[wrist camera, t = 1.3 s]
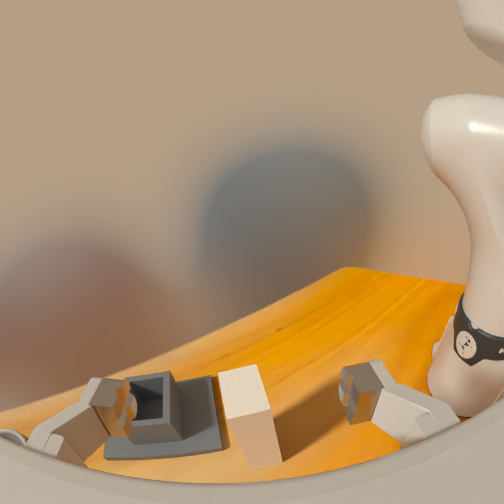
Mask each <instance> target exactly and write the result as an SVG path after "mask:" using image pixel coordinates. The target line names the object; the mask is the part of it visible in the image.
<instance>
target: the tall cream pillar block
mask: <svg viewBox="0 0 504 504" xmlns="http://www.w3.org/2000/svg"><path fill="white" fill-rule="evenodd" d="M218 375H219V381H220V387H221V393H222V398H223V404H224V409H225V414H226V420H227V422H228V424H229V426H230V428H231V430H232V432H233V434H234V436H235V438H236V440H237V442H238V444H239V446H240V448H241V450H242V452H243V454H244V456H245V458H246V460H247V462H248V464H249V466H250V468H251V470H255V469H259V468H264V467H268V466H272V465H275V464H279V463H283V461H282V457H281V453H280V448H279V444H278V439H277V435H276V431H275V426H274V422H273V417H272V413H271V408H270V405H269V402H268V399H267V396H266V393H265V390H264V387H263V384H262V381H261V378H260V375H259V372H258V368H257V365H256V364H254V365H250V366H246V367H242V368H238V369H233V370H229V371H225V372H220V373H218Z"/></svg>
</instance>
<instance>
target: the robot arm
mask: <svg viewBox="0 0 504 504" xmlns="http://www.w3.org/2000/svg"><path fill="white" fill-rule="evenodd" d="M455 3H456V6H457V9H458V12H459V15H460V18H461V21H462V24H463V28H464V30H465V32H466V34H467V36H468V37H469V39H470V40H471V41H472V43H473V44H474V45H475V46H476V47H477V48H478V49H479V50H481V51H482V52H483V53H485V54H486V55H488V56H489V57H491V58H492V59H494V60H495V61H497V62H498V63H500V64H502V65H504V0H455ZM421 143H422V148H423V152H424V155H425V158H426V160H427V162H428V164H429V166H430V168H431V169H432V171H433V172H434V174H435V175H436V176H437V177H438V178H439V179H440V180H441V181H442V182H443V183H444V184H445V185H446V186H447V187H448V189H449V190H450V191H451V192H452V193H453V195H454V197H455V198H456V200H457V201H458V203H459V205H460V207H461V209H462V211H463V213H464V216H465V218H466V221H467V224H468V228H469V232H470V239H471V256H470V266H469V273H468V278H467V284H466V288H465V292H464V293H463V294H462V295H461V298H460V300H459V303H458V305H457V308H456V311H455V316H452V317H451V318H450V319H449V322H448V324H447V326H446V329H445V331H444V334H443V336H442V338H441V341H438V342H436V343H435V344H434V346H433V348H432V357H433V360H432V363H431V366H430V368H429V371H428V378H427V379H428V387H429V390H430V392H431V394H432V396H433V397H431V396H429V395H426V394H424V393H422V392H419V391H417V390H415V389H412V388H410V387H408V386H406V385H403V384H401V383H399V384H397V383H396V381H395V380H394V379H393V377H392V376H391V374H390V373H389V371H388V370H387V369H386V367H385V366H384V364H383V363H382V361H381V360H379V359H376V360H372V361H368V362H364V363H360V364H355V365H350V366H345V367H343V368H342V370H341V376H342V380H341V382H340V383H339V388H338V392H339V399H340V402H341V404H342V405H343V406H344V407H346V412H345V414H346V416H347V418H348V421H349V423H350V425H353V424H358V423H362V422H366V421H371V422H372V423H374V424H375V425H377V426H378V427H380V428H381V429H382V430H384V431H385V432H387V433H388V434H390V435H391V436H393V437H394V438H396V439H397V440H399V441H400V442H402V443H403V444H402V446H401V447H400V449H399V451H396V452H394V453H391V454H388V455H385V456H382V457H379V458H376V459H373V460H369V461H366V462H362V463H359V464H355V465H352V466H348V467H344V468H340V469H335V470H331V471H326V472H321V473H316V474H311V475H306V476H299V477H293V478H286V479H278V480H269V481H259V482H244V483H183V482H169V481H158V480H150V479H142V478H135V477H129V476H123V475H117V474H112V473H107V472H103V471H98V470H94V469H90V468H88V467H87V466H86V465H85V464H84V461H85V460H86V459H87V458H88V457H89V456H90V455H92V454H93V453H94V452H95V451H96V450H97V449H98V448H99V447H100V446H101V445H102V444H103V443H104V442H105V441H106V440H107V439H109V438H110V436H116V437H125V438H129V437H130V433H131V430H132V427H133V425H132V423H131V420H133V419H134V418H135V417H136V413H137V403H136V399H135V397H134V395H133V394H131V393H130V392H129V391H130V388H131V387H130V385H129V383H128V381H126V380H116V379H107V378H97V377H93V378H91V379H90V381H89V383H88V385H87V387H86V388H85V390H84V392H83V394H82V396H81V398H80V400H79V402H78V403H74V404H72V405H70V406H69V407H67V408H65V409H64V410H62V411H61V412H59V413H57V414H56V415H54V416H52V417H51V418H49V419H47V420H46V421H44V422H42V423H41V424H39V425H37V426H36V427H35V428H34V430H33V432H32V433H31V435H30V437H29V439H28V441H27V443H26V445H25V446H24V447H23V446H21V445H18V444H16V443H14V442H11V441H9V440H7V439H5V438H3V437H1V436H0V504H504V97H498V96H490V95H482V94H472V93H467V94H458V95H451V96H446V97H441V98H436V99H434V100H433V101H432V102H431V103H430V105H429V106H428V108H427V110H426V112H425V114H424V117H423V120H422V125H421ZM456 415H458V416H464V417H471V418H469V419H467V420H466V421H464V422H461V421H460V420H459V418H458V417H457V416H456Z"/></svg>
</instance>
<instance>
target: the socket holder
mask: <svg viewBox="0 0 504 504" xmlns="http://www.w3.org/2000/svg"><path fill="white" fill-rule="evenodd" d="M124 380H126V381H128V383H129V385H130V387H131V388H130V391H129V392H130V393H131V394H133V395H134V397H135V399H136V403H137V413H136V417H135V418H134V419H133V420H131V423H132V425H133V427H132V430H131V433H130V437H129V438H125V437H116V436H110V438H109V439H107V440H106V441H105V448H104V458H105V459H106V460H146V459H161V458H173V457H182V456H191V455H198V454H205V453H211V452H217V451H223V450H224V449H223V444H222V438H221V433H220V427H219V421H218V415H217V409H216V403H215V396H214V390H213V383H212V378H211V375H209V376H204V377H199V378H194V379H188V380H183V381H177V382H175V380H174V378H173V376H172V374H171V372H170V371H166V372H160V373H154V374H148V375H141V376H134V377H127V378H125V379H124Z"/></svg>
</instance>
